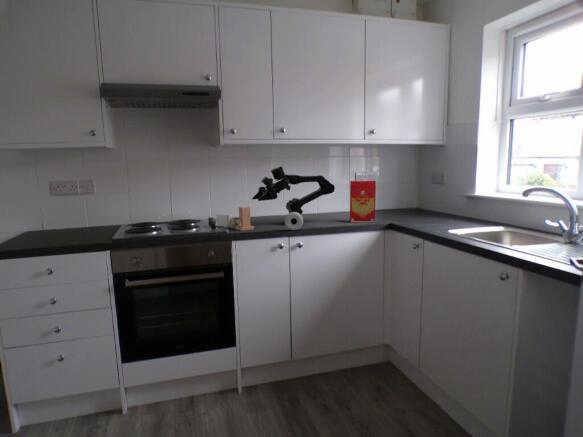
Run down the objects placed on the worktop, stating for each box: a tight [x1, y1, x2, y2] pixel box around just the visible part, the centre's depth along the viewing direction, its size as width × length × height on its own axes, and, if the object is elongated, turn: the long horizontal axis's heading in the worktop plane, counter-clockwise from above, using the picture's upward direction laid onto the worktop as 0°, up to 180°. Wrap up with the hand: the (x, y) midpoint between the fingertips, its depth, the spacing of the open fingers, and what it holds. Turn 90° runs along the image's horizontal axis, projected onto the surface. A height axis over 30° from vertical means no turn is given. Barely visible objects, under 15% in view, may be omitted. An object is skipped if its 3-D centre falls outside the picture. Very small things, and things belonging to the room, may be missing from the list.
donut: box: [284, 212, 304, 231], centre depth 199 cm, size 10×4×10 cm, turn 90°
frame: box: [215, 213, 233, 228], centre depth 212 cm, size 10×2×7 cm, turn 70°
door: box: [229, 217, 243, 231], centre depth 204 cm, size 12×2×5 cm, turn 33°
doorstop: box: [238, 206, 255, 231], centre depth 205 cm, size 8×8×12 cm
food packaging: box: [349, 180, 377, 222], centre depth 226 cm, size 15×5×25 cm, turn 85°
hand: (255, 199), depth 208 cm, fingers open, 9 cm apart
